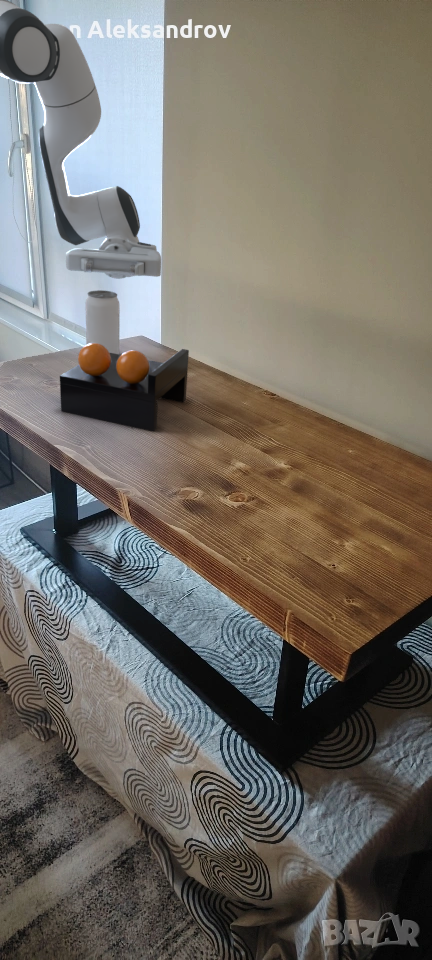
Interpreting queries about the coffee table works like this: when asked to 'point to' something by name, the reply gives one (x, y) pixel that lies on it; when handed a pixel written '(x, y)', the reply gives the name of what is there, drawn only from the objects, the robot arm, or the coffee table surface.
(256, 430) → the coffee table surface
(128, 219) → the robot arm
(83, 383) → the rack
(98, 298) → the can
